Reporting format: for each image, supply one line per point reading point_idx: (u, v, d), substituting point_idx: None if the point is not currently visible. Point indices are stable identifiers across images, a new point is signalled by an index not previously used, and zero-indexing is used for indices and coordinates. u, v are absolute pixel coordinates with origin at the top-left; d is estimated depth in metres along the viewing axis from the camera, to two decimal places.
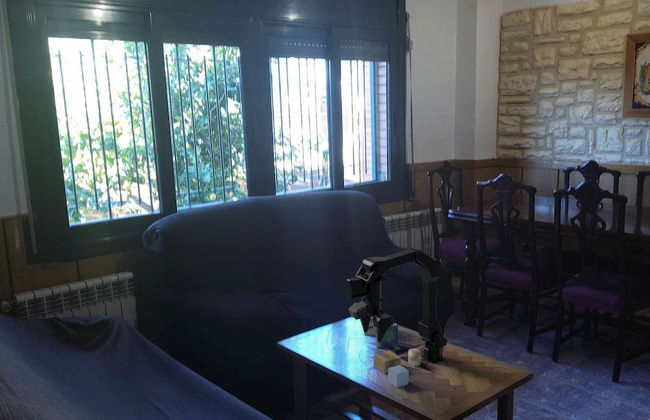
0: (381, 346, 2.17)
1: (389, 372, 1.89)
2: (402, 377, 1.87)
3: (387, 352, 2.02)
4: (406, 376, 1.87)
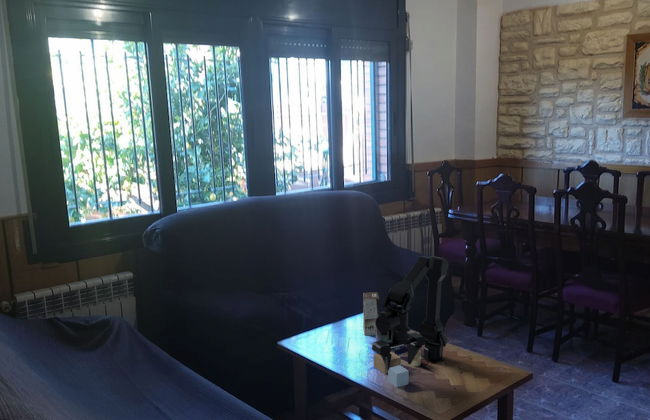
0: None
1: (389, 372, 1.89)
2: (402, 377, 1.87)
3: None
4: (406, 376, 1.87)
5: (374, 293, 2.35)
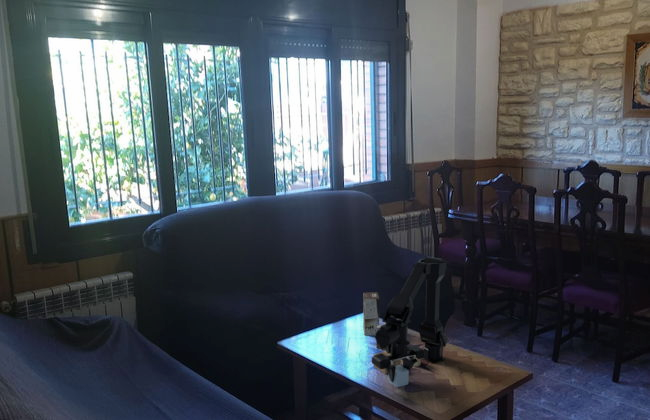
0: None
1: None
2: (402, 377, 1.87)
3: (386, 352, 2.02)
4: (406, 376, 1.87)
5: (374, 293, 2.35)
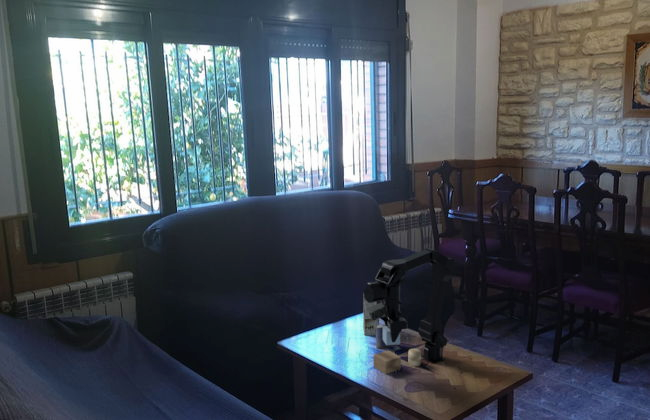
0: (381, 346, 2.17)
1: (388, 335, 1.91)
2: None
3: (386, 352, 2.03)
4: None
5: None
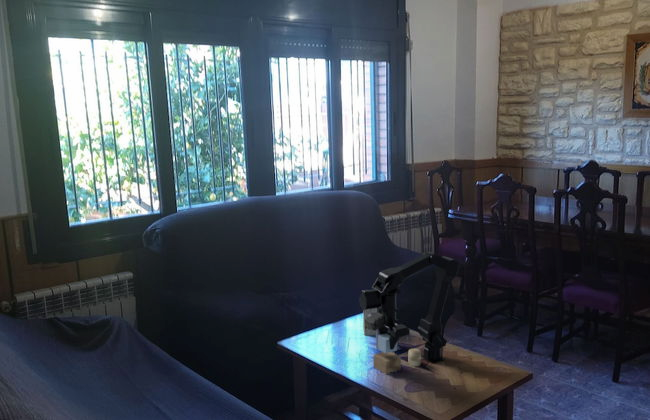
0: None
1: (387, 343, 1.95)
2: None
3: None
4: None
5: None
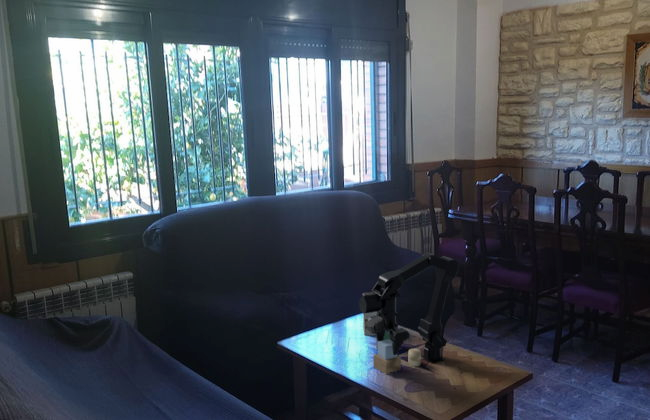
0: None
1: (387, 349, 1.96)
2: None
3: None
4: None
5: None
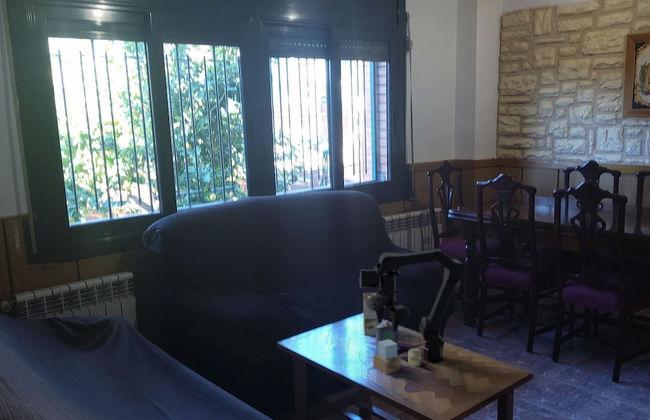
0: None
1: (387, 349, 1.96)
2: None
3: None
4: None
5: (374, 293, 2.35)
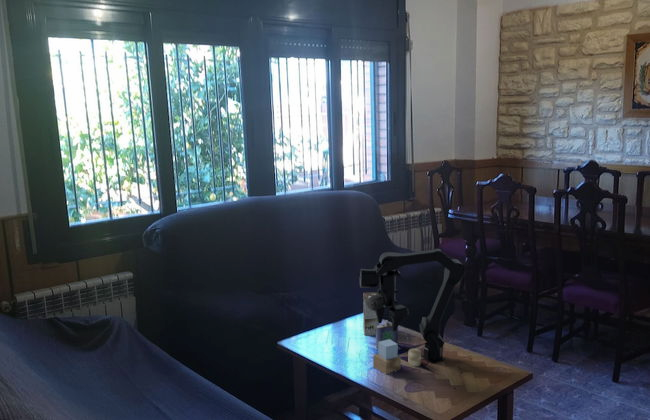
0: None
1: (387, 349, 1.96)
2: None
3: None
4: None
5: (374, 293, 2.35)
